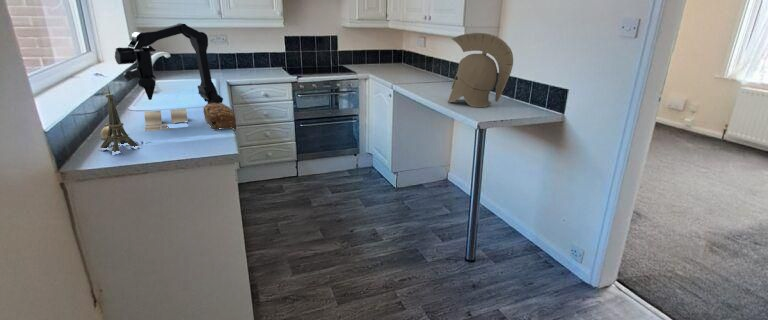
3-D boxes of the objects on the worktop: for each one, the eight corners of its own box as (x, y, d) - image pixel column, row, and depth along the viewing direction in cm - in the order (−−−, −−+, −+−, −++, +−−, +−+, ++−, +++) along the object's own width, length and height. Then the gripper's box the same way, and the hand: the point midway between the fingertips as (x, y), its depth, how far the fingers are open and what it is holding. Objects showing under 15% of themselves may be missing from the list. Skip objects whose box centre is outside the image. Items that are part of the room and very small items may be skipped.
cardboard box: (146, 129, 188) (145, 125, 188) (188, 125, 195) (188, 122, 195) (145, 134, 181) (144, 131, 180) (189, 130, 188) (189, 127, 187)
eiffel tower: (114, 155, 156) (100, 86, 148) (97, 150, 161) (83, 83, 152) (142, 148, 165) (130, 82, 156) (125, 143, 170) (113, 79, 161)
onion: (125, 136, 178) (122, 120, 175) (125, 142, 171) (122, 124, 169) (102, 139, 174) (99, 122, 172) (101, 144, 168) (98, 127, 165)
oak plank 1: (144, 114, 193) (144, 111, 192) (160, 112, 196) (160, 110, 195) (145, 127, 189) (145, 125, 188) (162, 126, 192) (162, 124, 191)
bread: (204, 123, 199) (202, 102, 196) (228, 121, 205) (226, 100, 201) (212, 134, 184) (209, 111, 181) (237, 131, 189) (235, 108, 186)
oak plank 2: (170, 112, 198) (170, 109, 197) (186, 111, 200) (185, 108, 199) (172, 125, 194) (172, 123, 193) (188, 124, 196) (188, 121, 195)
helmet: (452, 98, 269) (457, 30, 255) (510, 104, 254) (519, 34, 241) (441, 104, 252) (446, 32, 238) (503, 111, 237) (512, 35, 224)
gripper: (124, 60, 190) (130, 95, 195) (121, 66, 174) (128, 104, 180) (152, 59, 195) (158, 94, 200) (152, 65, 179) (158, 102, 184)
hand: (150, 98), depth 191 cm, fingers open, 5 cm apart
